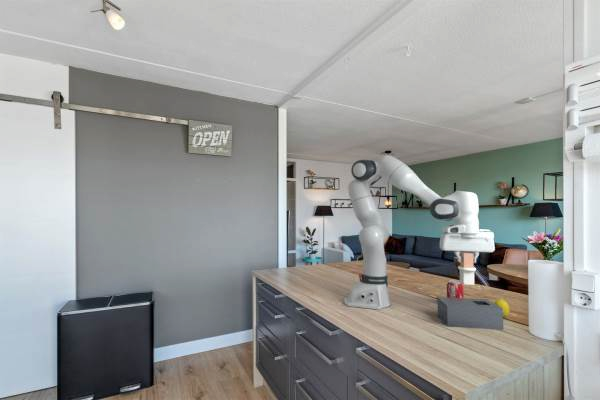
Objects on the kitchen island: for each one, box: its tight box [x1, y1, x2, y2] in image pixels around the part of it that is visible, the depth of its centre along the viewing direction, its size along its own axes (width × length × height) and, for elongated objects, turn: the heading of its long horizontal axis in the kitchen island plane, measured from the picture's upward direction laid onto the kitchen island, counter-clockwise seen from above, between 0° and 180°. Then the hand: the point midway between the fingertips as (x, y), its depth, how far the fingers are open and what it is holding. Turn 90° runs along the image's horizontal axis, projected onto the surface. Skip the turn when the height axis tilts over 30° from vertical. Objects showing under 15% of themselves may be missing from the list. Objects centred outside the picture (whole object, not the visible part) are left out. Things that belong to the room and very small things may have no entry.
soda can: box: [446, 279, 465, 298], centre depth 133 cm, size 7×7×12 cm
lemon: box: [493, 298, 511, 319], centre depth 119 cm, size 6×6×8 cm
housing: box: [436, 296, 504, 331], centre depth 115 cm, size 20×12×8 cm, turn 81°
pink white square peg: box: [457, 251, 477, 286], centre depth 116 cm, size 6×6×12 cm
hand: (466, 262), depth 116 cm, fingers closed on pink white square peg, 4 cm apart
